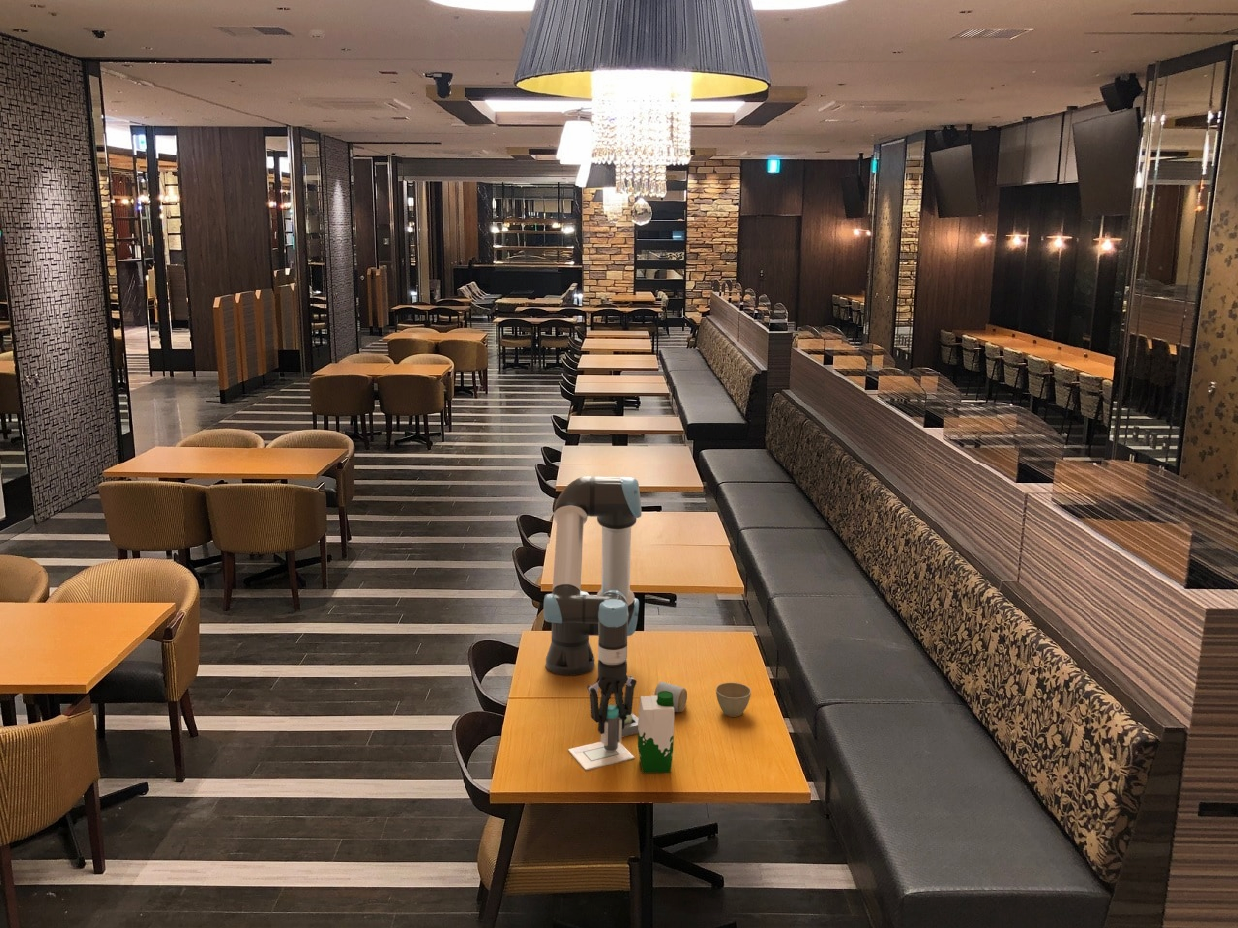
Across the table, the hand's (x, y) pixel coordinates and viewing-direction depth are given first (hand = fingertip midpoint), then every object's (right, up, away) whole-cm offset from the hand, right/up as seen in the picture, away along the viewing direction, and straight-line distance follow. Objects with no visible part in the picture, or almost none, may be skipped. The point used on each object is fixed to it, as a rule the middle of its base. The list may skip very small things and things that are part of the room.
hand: (611, 741), depth 274 cm
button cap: (+4, +2, +13) cm, 13 cm away
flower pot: (+34, +2, +23) cm, 41 cm away
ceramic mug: (+17, +3, +26) cm, 31 cm away
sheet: (-3, -3, -1) cm, 4 cm away
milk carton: (+11, -5, -6) cm, 14 cm away
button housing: (+4, 0, +13) cm, 14 cm away
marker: (0, -2, +1) cm, 2 cm away
